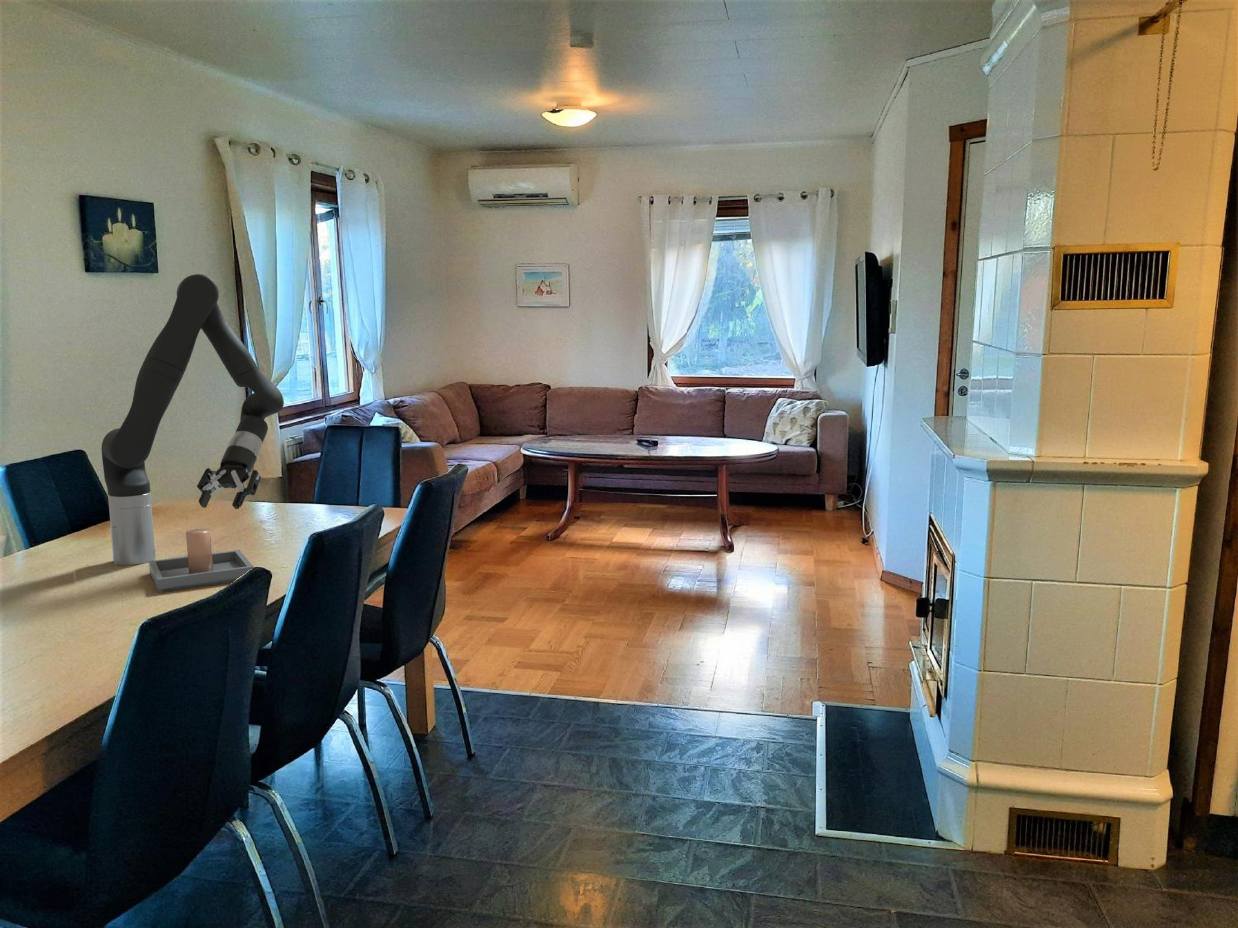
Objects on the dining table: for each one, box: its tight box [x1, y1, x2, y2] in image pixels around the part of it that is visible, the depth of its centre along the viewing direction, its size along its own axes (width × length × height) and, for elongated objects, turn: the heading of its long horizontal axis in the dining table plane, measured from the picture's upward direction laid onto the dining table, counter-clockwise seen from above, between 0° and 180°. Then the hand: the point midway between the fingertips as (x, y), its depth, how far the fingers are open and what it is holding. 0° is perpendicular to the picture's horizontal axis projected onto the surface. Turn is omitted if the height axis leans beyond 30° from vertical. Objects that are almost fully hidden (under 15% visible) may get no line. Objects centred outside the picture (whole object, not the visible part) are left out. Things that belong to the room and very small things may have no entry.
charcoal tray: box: [148, 549, 255, 594], centre depth 206 cm, size 20×18×3 cm
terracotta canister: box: [185, 528, 213, 574], centre depth 205 cm, size 5×5×10 cm
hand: (218, 506), depth 212 cm, fingers open, 8 cm apart
